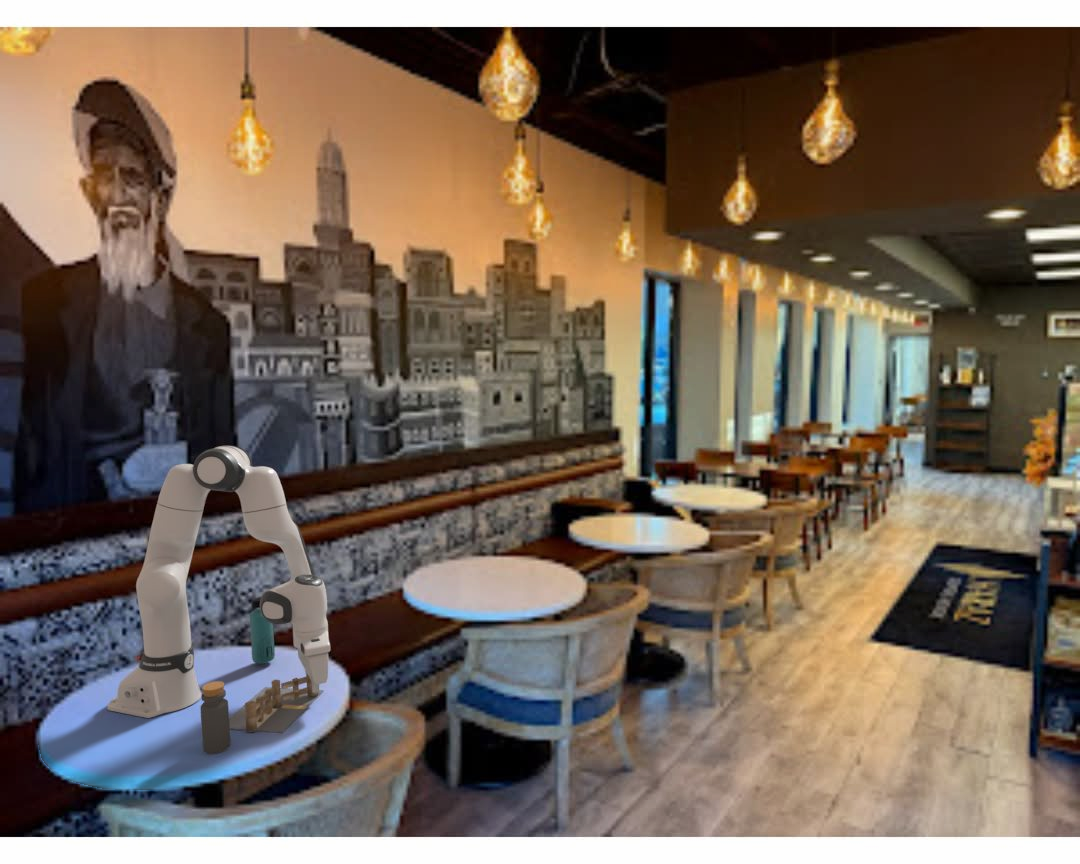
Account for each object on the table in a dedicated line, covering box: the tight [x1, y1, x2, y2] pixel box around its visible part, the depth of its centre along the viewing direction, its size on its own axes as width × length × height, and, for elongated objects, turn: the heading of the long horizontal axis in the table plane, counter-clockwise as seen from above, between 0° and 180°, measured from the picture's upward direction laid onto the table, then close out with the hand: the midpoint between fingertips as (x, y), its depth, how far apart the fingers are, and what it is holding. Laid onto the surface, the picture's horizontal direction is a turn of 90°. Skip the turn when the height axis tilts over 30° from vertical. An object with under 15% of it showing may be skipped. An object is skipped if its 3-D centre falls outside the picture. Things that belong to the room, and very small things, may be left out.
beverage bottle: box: [249, 596, 276, 664], centre depth 212 cm, size 6×7×20 cm
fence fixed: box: [244, 679, 281, 733], centre depth 179 cm, size 2×14×7 cm, turn 171°
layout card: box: [229, 686, 324, 734], centre depth 184 cm, size 17×22×1 cm
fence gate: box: [280, 672, 319, 700], centre depth 189 cm, size 3×10×7 cm, turn 127°
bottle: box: [200, 681, 231, 755], centre depth 165 cm, size 6×6×15 cm
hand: (312, 687), depth 190 cm, fingers open, 4 cm apart
